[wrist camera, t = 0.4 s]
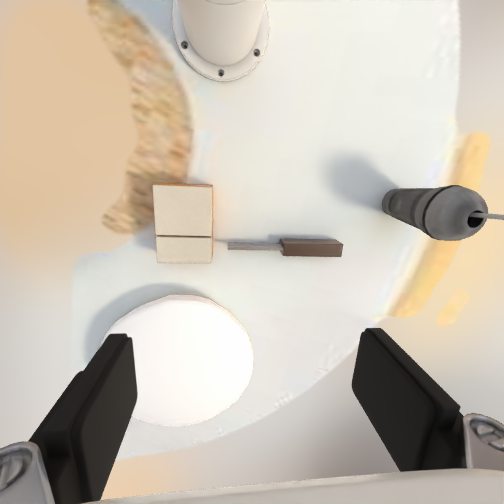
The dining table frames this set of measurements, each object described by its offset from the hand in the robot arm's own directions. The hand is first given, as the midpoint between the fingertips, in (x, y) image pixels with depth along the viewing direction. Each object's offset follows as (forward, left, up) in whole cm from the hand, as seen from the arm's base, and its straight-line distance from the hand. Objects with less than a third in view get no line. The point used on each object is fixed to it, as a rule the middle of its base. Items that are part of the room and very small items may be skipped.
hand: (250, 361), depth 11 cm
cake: (-1, -7, -34) cm, 35 cm away
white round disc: (+27, -9, -35) cm, 45 cm away
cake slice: (+5, -7, -34) cm, 35 cm away
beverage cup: (-3, +28, -35) cm, 45 cm away
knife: (+5, +9, -34) cm, 36 cm away
